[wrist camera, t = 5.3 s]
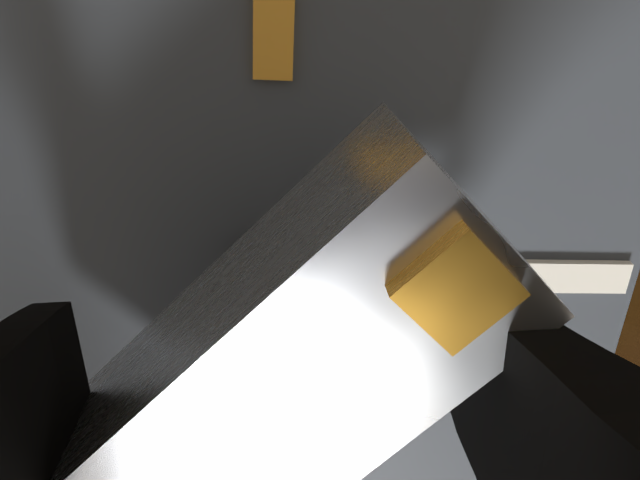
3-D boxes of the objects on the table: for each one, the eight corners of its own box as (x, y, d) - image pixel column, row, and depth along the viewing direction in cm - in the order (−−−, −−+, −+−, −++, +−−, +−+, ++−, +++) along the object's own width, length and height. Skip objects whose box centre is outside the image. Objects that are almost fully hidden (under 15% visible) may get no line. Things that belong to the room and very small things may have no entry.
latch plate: (-39, 478, 16) (-72, 533, 14) (-198, -142, 10) (-282, -161, 9) (544, 467, 17) (571, 515, 16) (690, -83, 12) (754, -90, 10)
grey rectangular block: (193, 429, 14) (156, 651, 9) (84, 353, 13) (-16, 562, 8) (466, 193, 12) (586, 329, 7) (365, 81, 11) (433, 162, 6)
